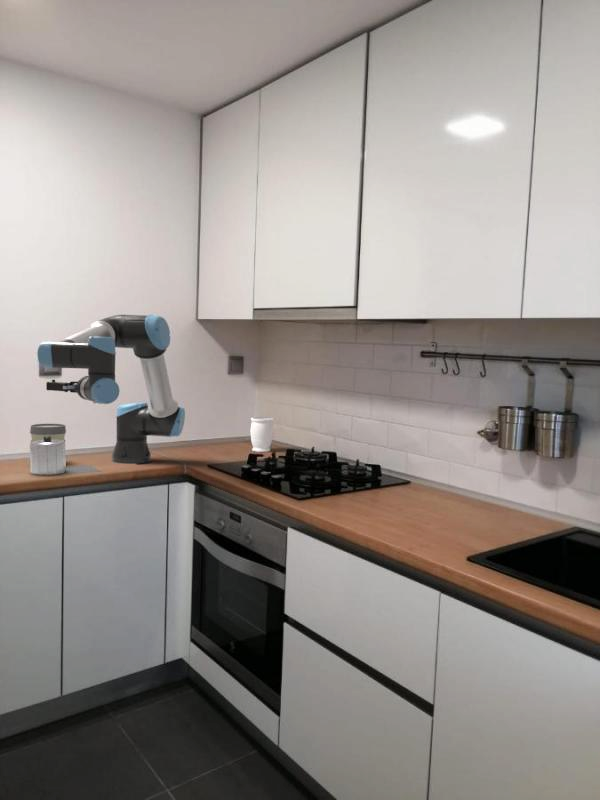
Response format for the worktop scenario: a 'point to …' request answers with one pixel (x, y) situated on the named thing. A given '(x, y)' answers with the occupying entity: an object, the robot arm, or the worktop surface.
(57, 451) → the faceted metal canister
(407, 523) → the worktop surface
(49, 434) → the reusable coffee cup
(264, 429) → the jar
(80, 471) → the mat
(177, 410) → the robot arm
